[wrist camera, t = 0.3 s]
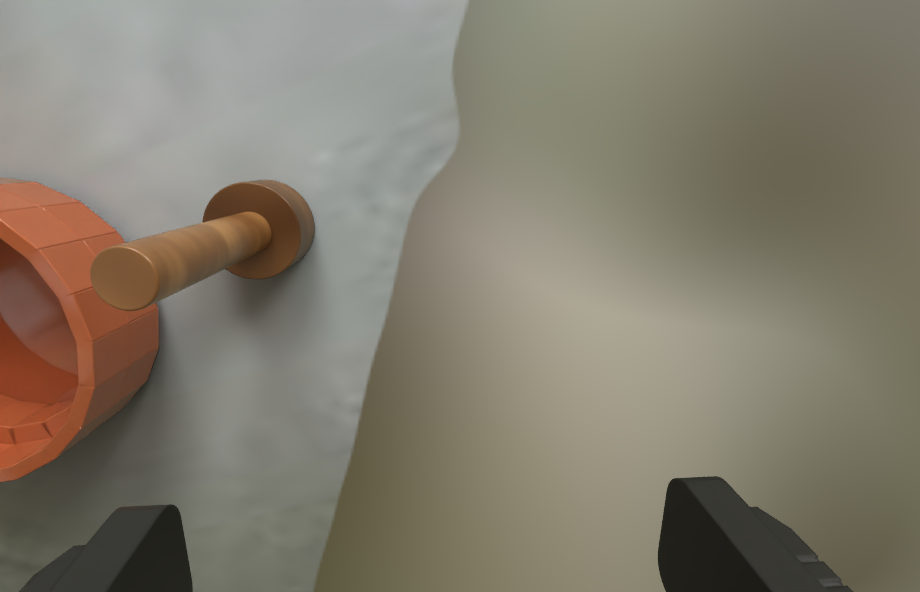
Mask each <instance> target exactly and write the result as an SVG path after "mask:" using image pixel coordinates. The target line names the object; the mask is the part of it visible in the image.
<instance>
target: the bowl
mask: <svg viewBox="0 0 920 592" xmlns="http://www.w3.org/2000/svg"><path fill="white" fill-rule="evenodd" d="M122 243H125V241H124V240H123V238H122V237H121V236H120V234H119V233H118V232H117V231H116V230H115V229H114V228H112V227H111V226H110V225H109V224H107V223H106V222H105V221H104V220H102V219H101V218H100V217H99V216H98V215H96V214H95V213H94V212H93V211H91V210H90V209H89V208H88V207H86V206H85V205H84V204H83V203H81V202H80V201H78V200H76V199H73V198H71V197H69V196H67V195H64V194H62V193H60V192H57V191H55V190H53V189H51V188H48V187H46V186H44V185H41V184H39V183H36V182H31V181H23V180H16V179H8V178H0V482H5V481H11V480H17V479H19V478H21V477H23V476H25V475H27V474H29V473H31V472H33V471H34V470H36V469H38V468H40V467H42V466H44V465H46V464H47V463H49V462H51V461H53V460H55V459H56V458H58V457H59V456H60V455H61V454H63V453H64V452H65V451H67V450H68V449H69V448H71V447H72V446H73V445H75V444H76V443H77V442H79V441H80V440H81V439H82V438H84V437H85V436H86V435H88V434H89V433H90V432H92V431H93V430H94V429H96V428H97V427H98V426H99V425H101V424H102V423H103V422H105V421H106V420H107V419H109V418H110V417H111V416H113V415H114V414H115V413H117V412H118V411H119V410H120V409H122V408H123V407H124V406H125V405H126V404H127V403H128V402H129V401H130V400H131V398H132V397H133V396H134V395H135V394H136V393H137V392H138V390H139V389H140V388H141V387H142V386H143V385H144V383H145V382H146V381H147V380H148V377H149V374H150V371H151V368H152V365H153V363H154V360H155V357H156V354H157V351H158V348H159V315H158V306H157V303H154V304H152V305H150V306H148V307H146V308H144V309H141V310H137V311H125V310H120V309H117V308H115V307H112V306H111V305H109V304H107V303H106V302H105V301H103V300H102V299H101V298H100V297H99V295H98V294H97V293H96V291H95V289H94V287H93V285H92V282H91V277H90V270H91V265H92V262H93V260H94V259H95V257H96V256H97V255H98V254H99V253H100V252H101V251H102V250H104V249H106V248H108V247H110V246H114V245H118V244H122Z"/></svg>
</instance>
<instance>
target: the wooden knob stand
mask: <svg viewBox="0 0 920 592" xmlns="http://www.w3.org/2000/svg"><path fill="white" fill-rule="evenodd" d="M314 231H315V225H314V219H313V215H312V212H311V210H310V208H309V206H308V204H307V202H306V201H305V200H304V198H303V197H302V196H301V195H300V194H299V193H298V192H297V191H295V190H294V189H293V188H291V187H290V186H288V185H286V184H283V183H280V182H277V181H272V180H258V181H249V182H241V183H236V184H232V185H229V186H227V187H225V188H223V189H222V190H220V191H219V192H218V193H216V194H215V195H214V196H213V198H212V199H211V200H210V202H209V203H208V205H207V207H206V210H205V212H204V216H203V223H199V224H196V225H192V226H188V227H184V228H180V229H176V230H172V231H168V232H165V233H161V234H157V235H153V236H149V237H145V238H141V239H137V240H134V241H130V242H126V243H122V244H118V245H114V246H110V247H108V248H106V249H104V250H102V251H101V252H100V253H99V254H98V255H97V256H96V257H95V259H94V260H93V262H92V265H91V270H90V277H91V282H92V285H93V287H94V289H95V291H96V293H97V294H98V295H99V297H100V298H101V299H102V300H103V301H105V302H106V303H107V304H109V305H111V306H112V307H115V308H117V309H120V310H125V311H137V310H141V309H144V308H146V307H148V306H150V305H152V304H154V303H156V302H158V301H160V300H162V299H164V298H166V297H168V296H170V295H172V294H174V293H177V292H179V291H181V290H183V289H185V288H187V287H189V286H191V285H193V284H195V283H197V282H199V281H201V280H203V279H205V278H207V277H209V276H211V275H213V274H215V273H217V272H219V271H221V270H224V269H226V270H228V271H229V272H231V273H233V274H235V275H237V276H240V277H243V278H248V279H265V278H270V277H273V276H275V275H277V274H279V273H281V272H283V271H284V270H286V269H287V268H289V267H290V266H292V265H293V264H294V263H296V262H297V261H299V260H300V259H301V258H302V257H303V256H304V255H305V254H306V253H307V252H308V250H309V248H310V246H311V244H312V242H313V238H314Z"/></svg>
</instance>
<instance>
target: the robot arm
mask: <svg viewBox="0 0 920 592" xmlns="http://www.w3.org/2000/svg"><path fill="white" fill-rule="evenodd" d="M658 565H659V571H660V576H661V579H662V582H663V585H664V588H665V590H666V592H853V591H852V590H851V589H850V588H849V587H848V586H843V585H842V583H841V579H840V578H839V577H838V576H837V575H836V574H835V573H834V572H833V571H832V570H831V569H830V568H829V567H828V566H827V565H826V564H825V563H824V562H820V561H819V560H818V556H817V555H816V554H815V553H814V552H813V551H812V550H811V549H810V547H809V546H808V545H807V544H805V542H804V541H803V540H801V538H800V537H799V536H798V535H797V534H796V533H795V532H794V531H793V530H792V529H791V528H789V527H788V526H786V525H784V524H783V523H781V522H780V521H778V520H777V519H775V518H773V517H772V516H770V515H769V514H767V513H766V512H764V511H763V510H761V509H759V508H758V507H749V506H748V505H747V504H746V502H745V501H744V500H743V499H742V498H741V497H740V496H739V495H738V494H737V493H736V492H735V491H734V490H733V488H732V487H731V486H730V485H729V484H728V483H727V482H726V481H724V479H722V478H720V477H716V476H715V477H695V478H694V477H693V478H675V479H672V480H671V481H670V483H669V485H668V488H667V493H666V500H665V507H664V514H663V521H662V528H661V534H660V541H659V548H658ZM192 591H193V588H192V578H191V572H190V566H189V561H188V555H187V549H186V543H185V538H184V532H183V526H182V520H181V515H180V512H179V510H178V508H177V507H176V506H175V505H153V506H133V507H121V508H118V509H117V510H115V511H114V512H113V513H112V514H111V515H110V516H109V518H108V519H107V520H106V521H105V522H104V524H103V525H102V526H101V527H100V529H99V530H98V531H97V532H96V533H95V535H94V536H93V537H92V538H91V539H90V541H89V542H88V543H87V544H86V545H82V546H73V547H72V548H71V549H69V550H68V551H66V552H65V553H64V554H62V555H61V556H60V557H58V558H57V559H55V560H54V561H53V562H51V563H50V564H49V565H47V566H46V567H44V568H43V569H42V570H40V571H39V572H38V573H36V574H35V575H34V576H33V577H32V578H31V579H30V580H29V581H28V582H27V583H26V585H25V586H24V587H23V588H22V589H21V590H20V591H19V592H192Z"/></svg>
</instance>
